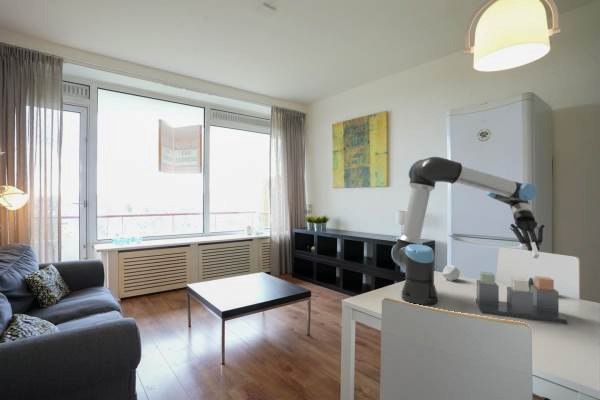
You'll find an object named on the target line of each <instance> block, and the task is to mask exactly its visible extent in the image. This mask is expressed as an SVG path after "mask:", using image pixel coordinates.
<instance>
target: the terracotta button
mask: <svg viewBox="0 0 600 400" xmlns="http://www.w3.org/2000/svg"><path fill="white" fill-rule="evenodd" d="M534 278H535V287H536V288H537V289H540V290H550V291H554V289H555V287H554V285H555V284H554V283H555V282H554V279H553V278H551V277H548V276H538V275H537V276H536V275H535V277H534Z"/></svg>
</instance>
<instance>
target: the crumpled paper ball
mask: <svg viewBox="0 0 600 400" xmlns="http://www.w3.org/2000/svg"><path fill="white" fill-rule="evenodd" d="M460 273H461V271H460V269H458V267H456V266H454V265H453V264H450V265H445V267H444V268H443V271H442V276H443V277H444V278H445V279H446V280H448V281H449V282H453V281H454V280H455V281H457V280H458V279H459V278H460Z"/></svg>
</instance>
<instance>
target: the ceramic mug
mask: <svg viewBox="0 0 600 400" xmlns="http://www.w3.org/2000/svg"><path fill="white" fill-rule="evenodd" d="M527 281H528V282H529V290H530V291H531V285H535V277H529V278H528V280H527Z"/></svg>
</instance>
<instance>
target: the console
mask: <svg viewBox="0 0 600 400" xmlns="http://www.w3.org/2000/svg"><path fill="white" fill-rule="evenodd" d="M499 287H500V286H499V285H498V284H497V283H496V282H495V285H487V284H481V283H480V279H479V280H476V298H475V304H476V305H477V307H478V309H479V311H480V312H481V314H487V315H493V316H494V315H495V316H496V315H497V316H503V317H511V318H519V319H527V320H534V321H540V322H541V321H542V322H551V323H557V324H565V325H568V319H567V318H566V317H564V316H563V315H562V314H561V313H560V311H559V308H560V307H559V299H560V298H559V291H558V290H556V289H555V288H554V291H550V290H540V289H537V288H536V287H535V285H531V291H530V290H529V292H519V291H513V290H512V289H511V286H506V301H502V300H499V297H500V295H499Z"/></svg>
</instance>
